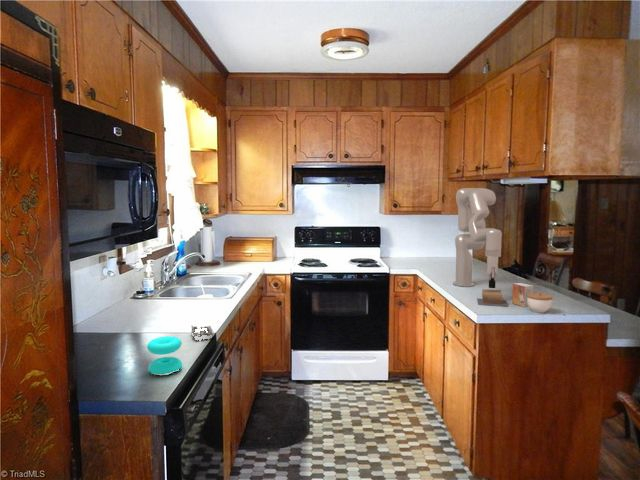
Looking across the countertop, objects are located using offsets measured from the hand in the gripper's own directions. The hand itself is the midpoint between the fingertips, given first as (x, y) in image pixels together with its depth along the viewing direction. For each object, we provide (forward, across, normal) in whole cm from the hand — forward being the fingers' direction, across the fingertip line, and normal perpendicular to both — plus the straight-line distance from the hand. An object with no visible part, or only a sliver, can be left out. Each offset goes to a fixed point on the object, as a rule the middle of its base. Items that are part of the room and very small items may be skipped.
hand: (491, 287), depth 225 cm
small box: (+7, +6, +14) cm, 17 cm away
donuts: (+7, +131, -103) cm, 167 cm away
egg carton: (+7, +99, -111) cm, 149 cm away
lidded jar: (+7, +17, +20) cm, 27 cm away
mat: (+7, +6, 0) cm, 9 cm away
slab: (+4, -2, 0) cm, 4 cm away
